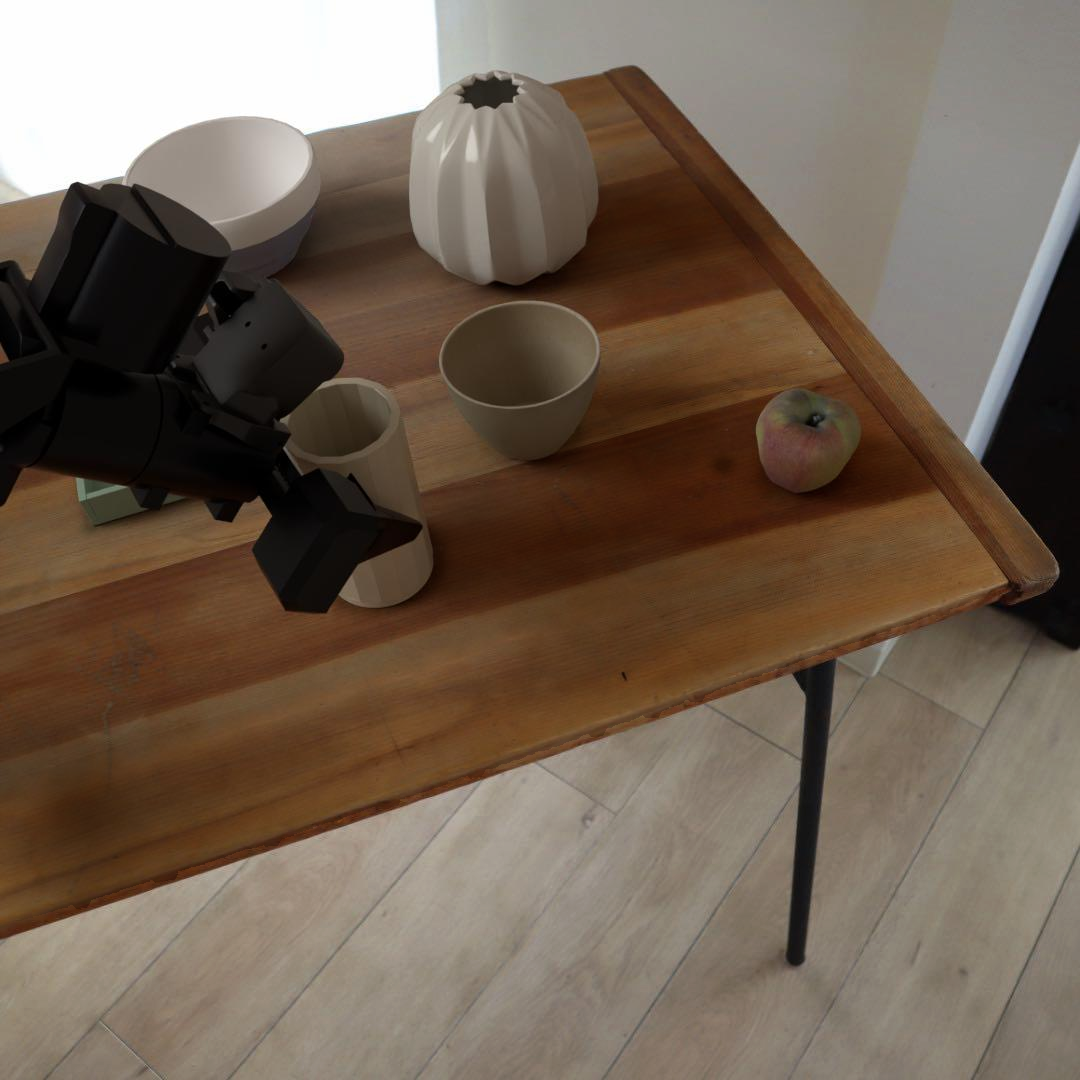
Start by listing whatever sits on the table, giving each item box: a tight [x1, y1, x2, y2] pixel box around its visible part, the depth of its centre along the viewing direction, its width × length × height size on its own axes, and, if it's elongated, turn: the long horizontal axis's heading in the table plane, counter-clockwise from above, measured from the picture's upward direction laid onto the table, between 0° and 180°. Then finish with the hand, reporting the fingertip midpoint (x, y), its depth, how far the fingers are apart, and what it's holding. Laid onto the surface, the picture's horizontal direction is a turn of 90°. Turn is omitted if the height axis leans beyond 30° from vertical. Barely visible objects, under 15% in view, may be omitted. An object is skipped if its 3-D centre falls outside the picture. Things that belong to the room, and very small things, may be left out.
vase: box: [408, 69, 599, 287], centre depth 85 cm, size 14×14×13 cm
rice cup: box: [280, 377, 435, 609], centre depth 67 cm, size 6×6×12 cm
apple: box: [755, 387, 862, 494], centre depth 72 cm, size 6×8×6 cm
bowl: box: [121, 115, 322, 281], centre depth 90 cm, size 14×14×8 cm
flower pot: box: [438, 300, 602, 461], centre depth 75 cm, size 10×10×7 cm
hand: (381, 481), depth 67 cm, fingers open, 9 cm apart
